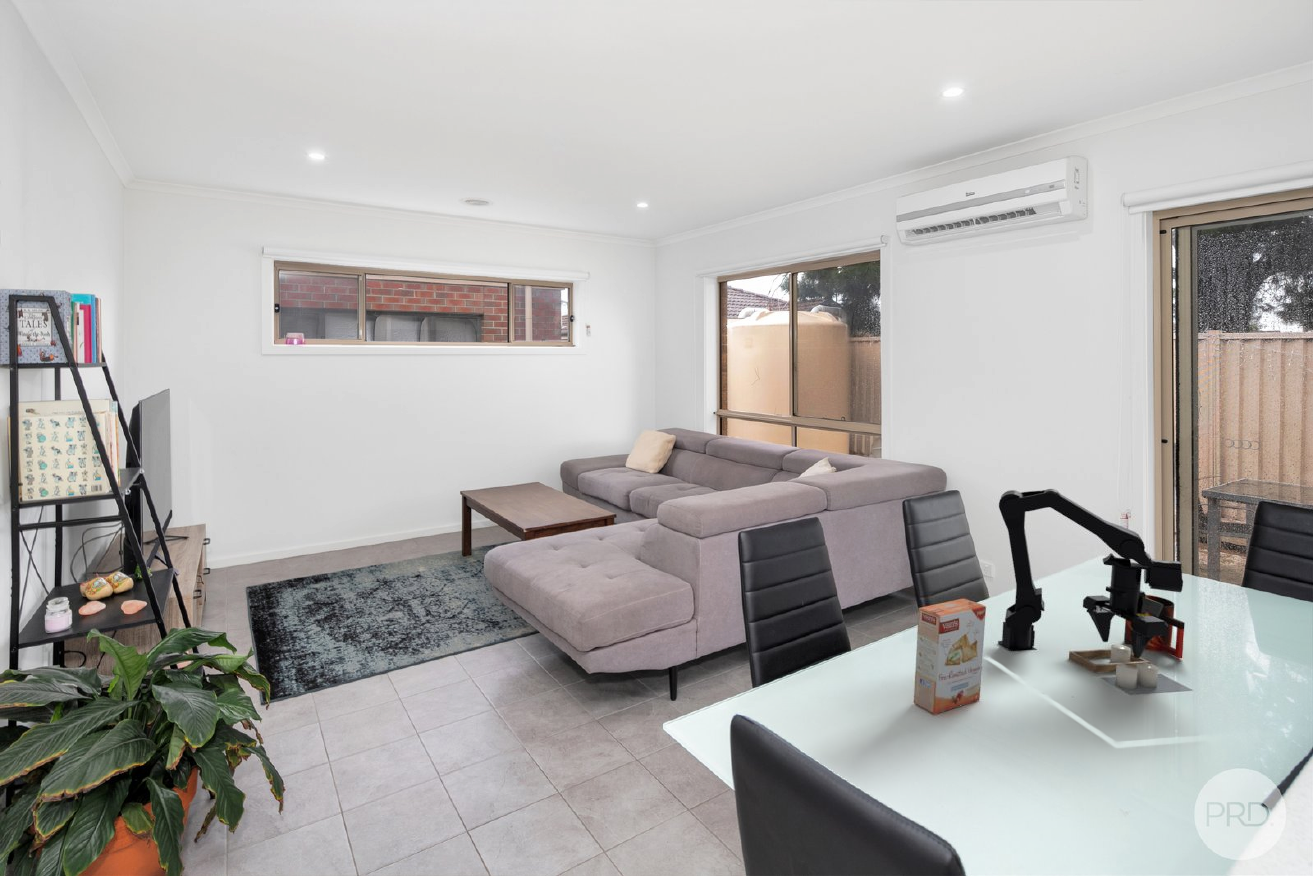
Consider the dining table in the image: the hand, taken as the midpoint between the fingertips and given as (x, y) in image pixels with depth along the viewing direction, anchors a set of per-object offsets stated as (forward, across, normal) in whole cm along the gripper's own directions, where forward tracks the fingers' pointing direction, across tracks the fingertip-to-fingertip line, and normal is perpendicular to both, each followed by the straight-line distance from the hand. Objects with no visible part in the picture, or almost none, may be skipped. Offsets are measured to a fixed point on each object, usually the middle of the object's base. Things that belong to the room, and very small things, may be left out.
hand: (1120, 649), depth 160 cm
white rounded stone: (+3, -10, +8) cm, 14 cm away
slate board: (+4, -10, +3) cm, 12 cm away
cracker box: (+4, -11, +50) cm, 51 cm away
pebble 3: (+3, -10, +3) cm, 11 cm away
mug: (+4, +8, -17) cm, 19 cm away
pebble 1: (+4, 0, 0) cm, 4 cm away
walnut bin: (+4, 0, +3) cm, 5 cm away
